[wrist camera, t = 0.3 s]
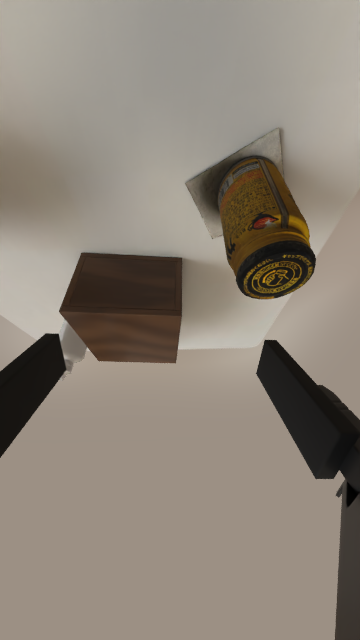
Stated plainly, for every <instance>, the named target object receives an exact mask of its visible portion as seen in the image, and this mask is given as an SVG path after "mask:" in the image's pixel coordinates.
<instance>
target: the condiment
mask: <svg viewBox="0 0 360 640" xmlns="http://www.w3.org/2000/svg"><path fill="white" fill-rule="evenodd" d="M185 184H186V186H187V188H188V190H189V192H190V194H191V196H192V198H193V200H194V202H195V204H196V206H197V208H198V210H199V212H200V214H201V216H202V218H203V220H204V222H205V224H206V227H207V229H208V231H209V233H210V235H211V237H212V239H214V238H216V237H219V236H221V235H223V236H224V242H225V248H226V254H227V260H228V263H229V265H230V266H231V268H232V269H233V270H234V274H235V276H236V282H237V285H238V287H239V289H240V290H241V292H242V293H243V294H244V295H246V296H249V297H251V298H256V299H273V298H278V297H281V296H284V295H287V294H289V293H291V292H293V291H295V290H297V289H298V288H300V287H301V286H303V285H304V284H305V283H306V282H307V281H308V280H309V279H310V277H311V276H312V274H313V273H314V268H315V262H316V258H315V254H314V253H313V251H312V249H311V248H310V243H309V237H310V235H309V229H308V226H307V223H306V221H305V219H304V217H303V215H302V214H301V212H300V210H299V209H298V207H297V205H296V203H295V201H294V199H293V197H292V195H291V193H290V191H289V189H288V188H287V185H286V184H285V182H284V176H283V166H282V156H281V145H280V135H279V127H278V128H276V129H275V130H273V131H271V132H270V133H268V134H266V135H264V136H263V137H261V138H259V139H257V140H256V141H254V142H253V143H251V144H250V145H248V146H246V147H244V148H242V149H241V150H239V151H238V152H236V153H234V154H232V155H231V156H229V157H228V158H226V159H224V160H223V161H222V162H220V163H219V164H217V165H215V166H213V167H211V168H210V169H208V170H206V171H205V172H203V173H201V174H200V175H198V176H197V177H196V178H194V179H192V180H190V181H189V182H187V183H185Z"/></svg>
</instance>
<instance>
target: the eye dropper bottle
mask: <svg viewBox="0 0 360 640" xmlns="http://www.w3.org/2000/svg"><path fill="white" fill-rule="evenodd" d="M59 338H60V342H61V347H62V351H63V356H64V360H65V365H66V369H67V370H66V371H65V372H64V374H63V375H62V376H61V378H60V379H59V380H64V378H65V376H66V375H67V374H70V373H71V370H72V367H73V363H77V362H80V361H82V360H83V359H84V355H85V352H86V349H87V346H86V345H85V343H84V342H83V341H82V340H81V338H80V337H79V336H78V335H77V334H76V332H75V331H74V330H73V329H72V327H71V326H70V325H69V324H68V322H67V321H66V320H64V322H63V324H62V327H61V330H60V333H59Z"/></svg>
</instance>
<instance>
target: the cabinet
mask: <svg viewBox="0 0 360 640" xmlns="http://www.w3.org/2000/svg"><path fill="white" fill-rule="evenodd" d="M59 312H60V314H61V315H62V316H63V317H64V319H65V320H66V321H67V322H68V324H69V325H70V326H71V327H72V329H73V330H74V331H75V332H76V334H77V335H78V336H79V337H80V338H81V340H82V341H83V342H84V343H85V345H86V346H87V347H88V348H89V350H90V351H91V352H92V353H93V355H94V356H95V357H96V358H97V360H98V361H115V362H150V363H176V358H177V350H178V342H179V334H180V326H181V318H182V258H172V257H152V256H133V255H113V254H94V253H81V256H80V258H79V261H78V263H77V266H76V269H75V271H74V274H73V276H72V279H71V282H70V284H69V287H68V289H67V292H66V295H65V297H64V300H63V302H62V305H61V308H60V310H59Z"/></svg>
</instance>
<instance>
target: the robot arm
mask: <svg viewBox="0 0 360 640" xmlns="http://www.w3.org/2000/svg"><path fill="white" fill-rule="evenodd" d="M66 370H67V369H66V365H65V360H64V356H63V351H62V347H61V342H60V338H59V334H47V333H46V334H45V335H44V336H42V337H41V338H40V339H39V340H38V341H36V342H35V343H34V344H33V345H32V346H30V347H29V348H28V349H27V350H26V351H24V352H23V353H22V354H21V355H20V356H18V357H17V358H16V359H15V360H13V361H12V362H11V363H10V364H9V365H8V366H6V367H5V368H4V369H3V370H2V371H0V458H1V456H2V455H3V454H4V452H5V451H6V450H7V448H8V447H9V446H10V444H11V443H12V441H13V440H14V439H15V438H16V436H17V435H18V434H19V432H20V431H21V430H22V428H23V427H24V426H25V424H26V423H27V422H28V420H29V419H30V418H31V416H32V415H33V413H34V412H35V411H36V410H37V408H38V407H39V406H40V404H41V403H42V402H43V400H44V399H45V398H46V396H47V395H48V394H49V392H50V391H51V390H52V388H53V387H54V386H55V384H56V383H57V382H58V380H59V379H60V378H61V376H62V375H63V374H64V372H65V371H66ZM256 374H257V376H258V378H259V379H260V381H261V383H262V384H263V386H264V388H265V390H266V392H267V394H268V395H269V397H270V399H271V401H272V402H273V404H274V406H275V408H276V409H277V411H278V413H279V415H280V417H281V418H282V420H283V422H284V424H285V425H286V427H287V429H288V431H289V433H290V434H291V436H292V438H293V440H294V441H295V443H296V445H297V447H298V448H299V450H300V452H301V454H302V455H303V457H304V459H305V461H306V463H307V464H308V466H309V468H310V470H311V471H312V473H313V475H314V476H315V478H316V479H334V477H335V476H336V474H337V472H338V471H339V470H340V471H341V473H342V474H343V476H344V477H345V480H344V482H343V483H342V485H341V487H340V488H339V490H338V491H337V494H336V496H338V497H340V495H341V494H342V509H341V529H340V530H341V531H340V549H339V550H340V551H339V569H338V589H337V609H336V629H335V640H360V420H359V419H358V418H357V417H356V416H355V415H354V414H353V412H352V411H350V410H349V409H348V407H347V406H346V405H345V404H344V403H342V402H341V400H340V399H339V398H338V397H337V396H336V395H335V394H334V393H333V392H332V391H330V390H329V389H327V388H326V387H324V386H323V385H317V384H316V383H315V382H314V381H313V380H312V379H311V378H310V377H309V376H308V375H307V373H306V372H305V371H304V370H303V369H302V368H301V367H300V366H299V365H298V364H297V362H296V361H295V360H294V359H293V358H292V357H291V356H290V355H289V354H288V353H287V352H286V350H285V349H284V348H283V347H282V346H281V345H280V344H279V343H278V342H277V340H265V341H264V345H263V349H262V353H261V357H260V361H259V365H258V369H257V373H256Z"/></svg>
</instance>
